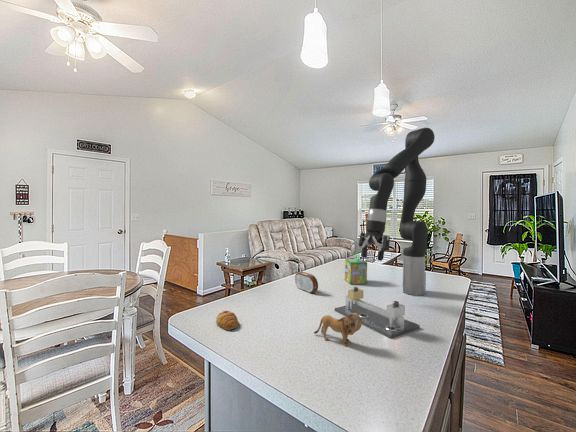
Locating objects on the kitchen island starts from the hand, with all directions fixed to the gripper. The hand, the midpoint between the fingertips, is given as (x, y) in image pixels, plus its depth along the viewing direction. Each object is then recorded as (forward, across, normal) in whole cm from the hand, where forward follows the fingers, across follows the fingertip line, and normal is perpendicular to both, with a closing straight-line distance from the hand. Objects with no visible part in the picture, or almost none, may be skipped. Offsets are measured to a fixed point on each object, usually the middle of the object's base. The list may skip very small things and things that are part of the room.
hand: (371, 258), depth 116 cm
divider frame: (+19, -13, +12) cm, 26 cm away
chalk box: (+15, +25, -19) cm, 35 cm away
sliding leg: (+18, -5, +12) cm, 22 cm away
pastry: (+28, +9, +55) cm, 63 cm away
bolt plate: (+20, -14, +10) cm, 26 cm away
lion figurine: (+23, -19, +31) cm, 43 cm away
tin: (+20, +26, +12) cm, 36 cm away
